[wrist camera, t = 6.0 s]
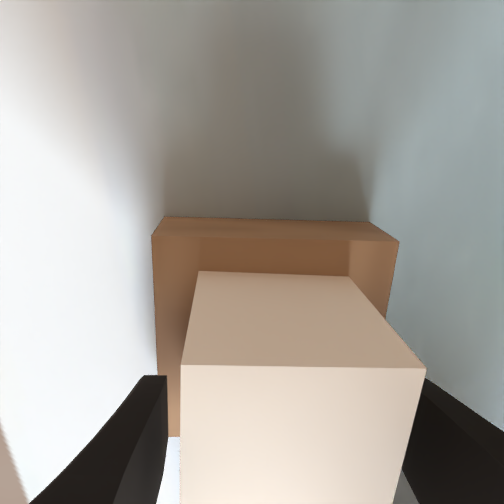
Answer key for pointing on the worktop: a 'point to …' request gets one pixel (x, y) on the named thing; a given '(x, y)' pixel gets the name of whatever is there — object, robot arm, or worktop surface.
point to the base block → (255, 269)
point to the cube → (292, 393)
